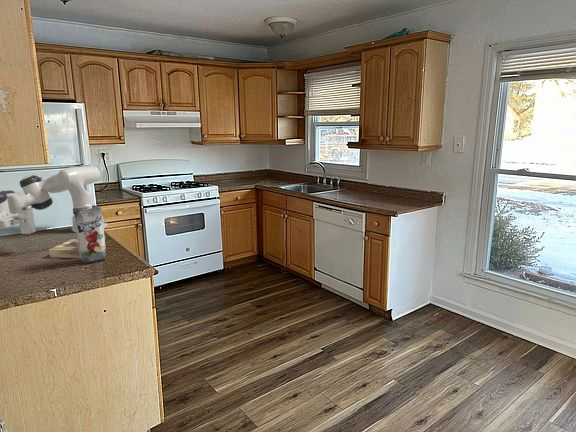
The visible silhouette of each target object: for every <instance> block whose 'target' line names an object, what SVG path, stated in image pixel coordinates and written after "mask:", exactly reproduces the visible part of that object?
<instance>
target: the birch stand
mask: <svg viewBox="0 0 576 432" xmlns="http://www.w3.org/2000/svg"><path fill="white" fill-rule="evenodd" d="M48 252H49V258H61V259H62V258H63V259H64V258H67V259H68V258H71V259H72V258H74V259H79V258H80V259H81V257H80V254H79V248H78V240H77V239H73V238H71V239H68V240H66V241H64V242H62V243H60V244H58V245H56V246H53V247H52V248H49V249H48Z"/></svg>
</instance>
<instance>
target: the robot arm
mask: <svg viewBox="0 0 576 432" xmlns="http://www.w3.org/2000/svg"><path fill="white" fill-rule="evenodd" d="M100 179H101V172H100V169H99V168H97V166H92V165H84V166H83V165H82V166H81V165H80V166H72V167H66V168H63V169H60V170H59V171H58V173H56V174H54V175H51V176H50V177H48V178H46V179H43V177H42V176H41V177H40V176H37V175H26V176H24V177H23V178H21V180H20V181H19V186H20V187H21V189H22V191H23V192H15V191H14V190H0V229H1V230H3V229H6V230H7V229H8V228H10V227H13V226H15V225H20V223H25V219H21V220H19V217H18V211H17V210H20V209H22V207H27V208H29V207H30V208H32V209H33V210H34V209H35V210H39V211H40V210H41V211H42V210H43V211H44V210H47V209H48V208H50V207H51V206H52V205H53V204H54V201H53V199H52V197H51V196H50V194H49V193H51V194H56V193H57V194H58V193H63V192H65V191H68V192H69V194H70V197H71V201H72V206H73V208H72V214H73V216H72V218H71V219H72V220H71V221H72V222H71V224H72V228H70V229H71V230H70V231H72V232H73V233H77V232H76V224H75V213H74V208H76V207H85V205H88V204H90V205H94V199H93V198H94V197H93V194H92V193H91V192H90V191H88V190H86V189H85V186H86V185H87V186H88V185H91V184H94V183H96V182H98V181H100ZM108 225H109V223H107V222H104V229H105V228H106V227H107V226H108Z"/></svg>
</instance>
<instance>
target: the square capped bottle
mask: <svg viewBox="0 0 576 432" xmlns="http://www.w3.org/2000/svg"><path fill="white" fill-rule="evenodd" d="M17 211H18V217H19V220H21V219H25V223H20V224H19V229H20V234H21V235H28V234H29V235H31V234H32V233H33V234H34V233H35V232H37V230H36V223H35V217H34V208H31V207H30V208H29V207H22V209H20V210H17Z"/></svg>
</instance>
